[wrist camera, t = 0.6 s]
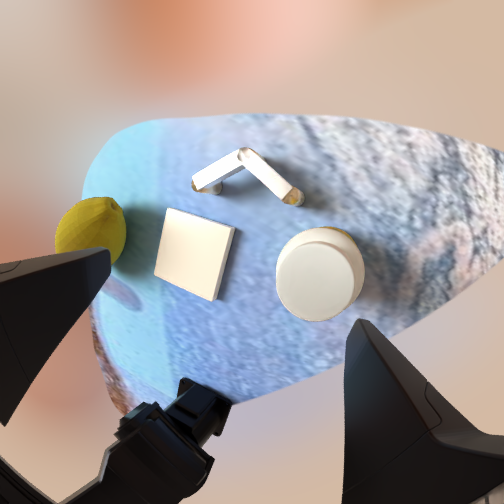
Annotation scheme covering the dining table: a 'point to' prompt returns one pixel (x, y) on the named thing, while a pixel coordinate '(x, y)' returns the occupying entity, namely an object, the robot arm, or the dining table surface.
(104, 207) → the lemon
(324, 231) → the supplement bottle
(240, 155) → the bent steel bracket
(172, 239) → the cream coaster
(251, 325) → the dining table surface
